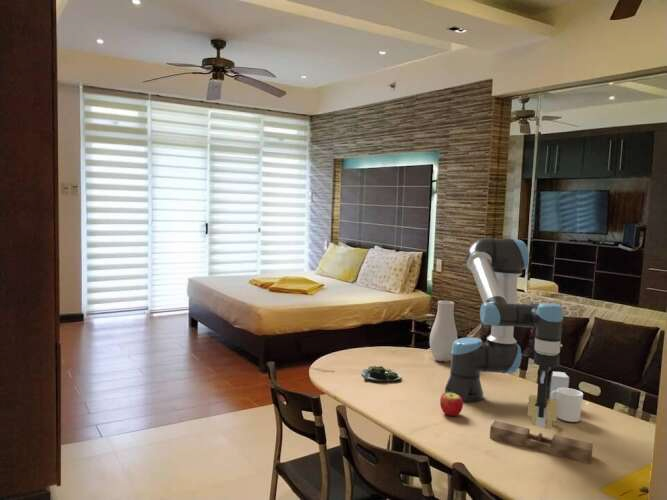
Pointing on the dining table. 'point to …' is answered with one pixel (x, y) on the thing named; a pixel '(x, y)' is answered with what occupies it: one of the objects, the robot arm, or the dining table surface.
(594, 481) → the dining table surface
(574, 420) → the mug
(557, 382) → the supplement box
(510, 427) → the rail
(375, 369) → the salad plate
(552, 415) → the beige block
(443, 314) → the vase
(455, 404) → the apple
